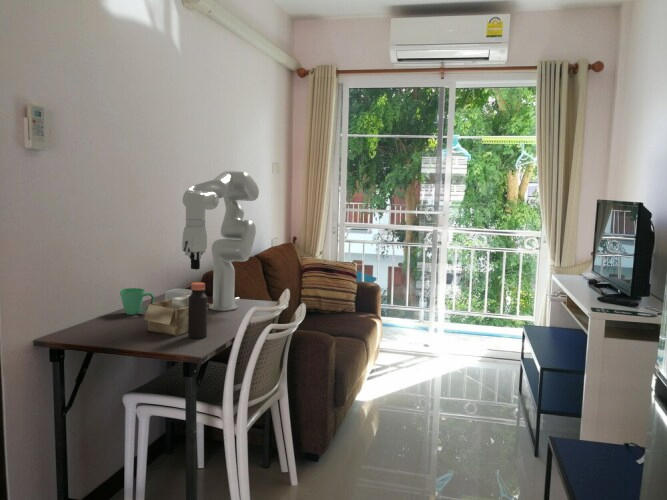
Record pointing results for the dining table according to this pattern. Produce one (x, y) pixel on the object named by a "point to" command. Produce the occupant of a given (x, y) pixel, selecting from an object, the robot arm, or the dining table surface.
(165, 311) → the front flap
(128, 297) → the mug
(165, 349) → the dining table surface
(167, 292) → the ink box
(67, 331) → the dining table surface
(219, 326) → the dining table surface
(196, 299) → the bottle
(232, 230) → the robot arm
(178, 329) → the carton
